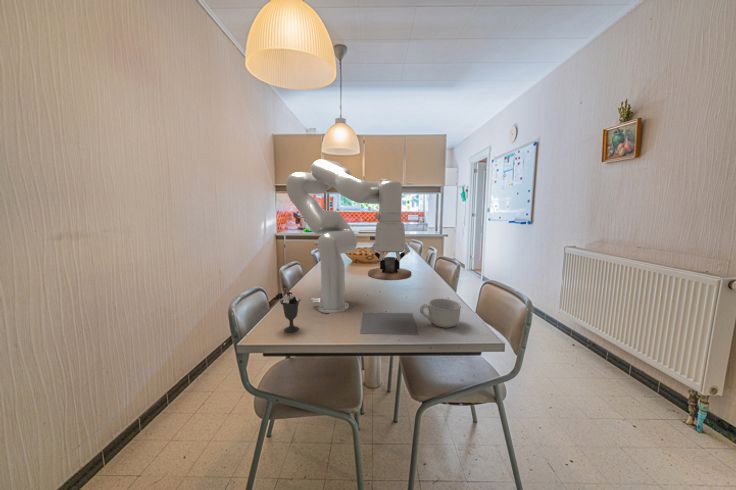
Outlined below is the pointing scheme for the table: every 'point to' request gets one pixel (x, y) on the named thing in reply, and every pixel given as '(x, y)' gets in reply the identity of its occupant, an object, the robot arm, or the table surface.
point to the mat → (388, 324)
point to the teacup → (442, 312)
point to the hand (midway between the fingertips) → (389, 270)
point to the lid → (389, 271)
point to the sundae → (290, 310)
